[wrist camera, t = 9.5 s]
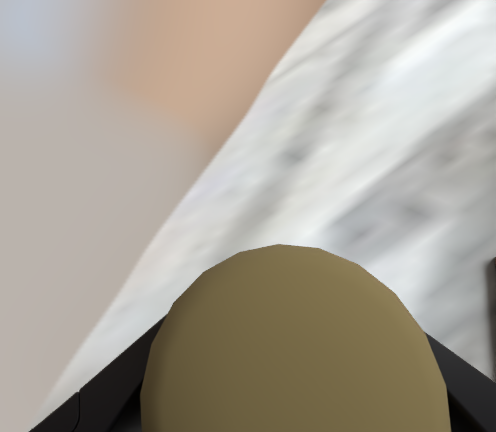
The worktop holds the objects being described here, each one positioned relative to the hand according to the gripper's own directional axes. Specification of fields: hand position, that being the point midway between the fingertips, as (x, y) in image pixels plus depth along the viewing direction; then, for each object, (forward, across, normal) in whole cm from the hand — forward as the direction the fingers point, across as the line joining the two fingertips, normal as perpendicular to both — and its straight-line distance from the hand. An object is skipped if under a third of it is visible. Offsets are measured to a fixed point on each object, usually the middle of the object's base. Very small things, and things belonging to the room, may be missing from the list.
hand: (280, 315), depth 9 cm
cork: (+4, 0, +6) cm, 7 cm away
